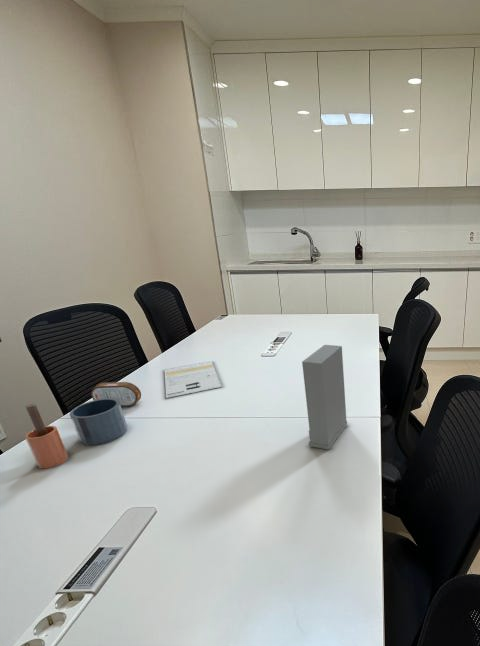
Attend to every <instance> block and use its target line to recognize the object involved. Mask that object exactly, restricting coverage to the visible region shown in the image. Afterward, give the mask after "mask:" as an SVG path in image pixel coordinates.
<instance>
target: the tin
mask: <svg viewBox="0 0 480 646" xmlns="http://www.w3.org/2000/svg"><path fill="white" fill-rule="evenodd" d="M90 395H91V398H92V401H94V400H98V399H106V398H112V399H117V400H118V401H119V402H120V405H121V408H122V407H124V408H125V407H132V406H135V405H136V404H137V403H138V402H139V401H140V400H141V399H142V392H141V390H140V388H139V387H138V386H137V385H136V384H134V383H132V382H129V381H118V382H117V381H114V382H113V381H112V382H100V383H98V384H96V385H95V386H94V387H93V389H91V392H90Z"/></svg>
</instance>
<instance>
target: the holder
mask: <svg viewBox="0 0 480 646" xmlns="http://www.w3.org/2000/svg"><path fill="white" fill-rule="evenodd" d="M45 427H46V430H47V432H48V434H46V435H44V436H40V437H38V434H37V432H36V430H35V428H34V429H32V430H30V431H29V432H27V433H26V434H25V435H24V438H25V440H26V443H27V445H28V446H29V449H30V451H31V453H32V456H33V458H34V460H35V462H36V465H37V466H38V468H40V469H50V468H55V467H57V466H60V465H61V464H63V463H65V462H66V461H67V460H68V459H69V454H68V451H67V449H66V447H65V444H64V441H63V440H62V437H61V435H60V432H59V429H58V427H57V426H55V425H45Z"/></svg>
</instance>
